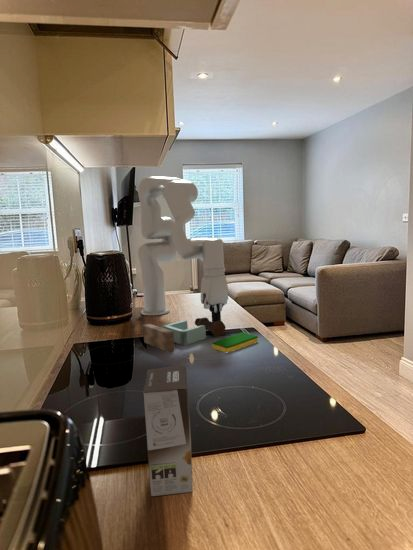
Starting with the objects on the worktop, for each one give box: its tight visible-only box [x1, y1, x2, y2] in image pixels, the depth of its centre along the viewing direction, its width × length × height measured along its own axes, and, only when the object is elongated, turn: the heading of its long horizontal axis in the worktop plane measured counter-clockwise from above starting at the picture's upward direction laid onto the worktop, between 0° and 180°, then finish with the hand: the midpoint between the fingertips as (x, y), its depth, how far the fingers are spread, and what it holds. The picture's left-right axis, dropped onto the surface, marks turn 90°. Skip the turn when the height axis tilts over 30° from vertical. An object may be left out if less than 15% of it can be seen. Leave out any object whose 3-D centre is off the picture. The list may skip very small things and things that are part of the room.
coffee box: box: [142, 365, 193, 497], centre depth 58 cm, size 9×6×16 cm
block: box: [162, 319, 207, 346], centre depth 129 cm, size 12×10×4 cm
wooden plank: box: [142, 323, 175, 353], centre depth 122 cm, size 14×2×6 cm, turn 41°
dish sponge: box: [211, 332, 259, 353], centre depth 120 cm, size 7×14×2 cm, turn 130°
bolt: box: [194, 317, 226, 337], centre depth 137 cm, size 6×5×15 cm
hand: (216, 322), depth 138 cm, fingers closed
